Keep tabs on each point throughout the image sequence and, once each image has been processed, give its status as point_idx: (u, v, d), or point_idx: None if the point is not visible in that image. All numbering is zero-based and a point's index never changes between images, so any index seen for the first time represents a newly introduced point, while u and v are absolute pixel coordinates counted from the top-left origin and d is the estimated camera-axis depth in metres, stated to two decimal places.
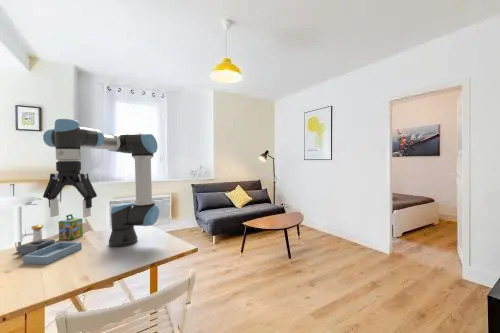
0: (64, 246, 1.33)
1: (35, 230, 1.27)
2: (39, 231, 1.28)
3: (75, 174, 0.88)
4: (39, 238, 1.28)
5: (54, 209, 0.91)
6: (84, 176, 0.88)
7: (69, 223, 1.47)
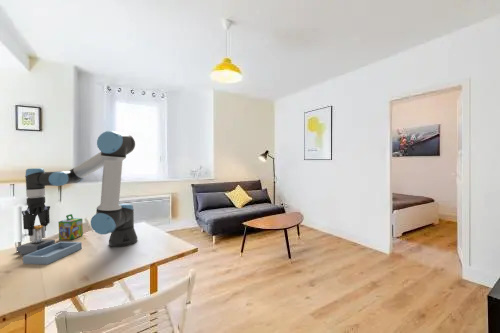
0: (64, 246, 1.33)
1: (35, 230, 1.27)
2: (40, 231, 1.28)
3: None
4: (39, 238, 1.28)
5: None
6: (23, 213, 1.22)
7: (69, 223, 1.47)
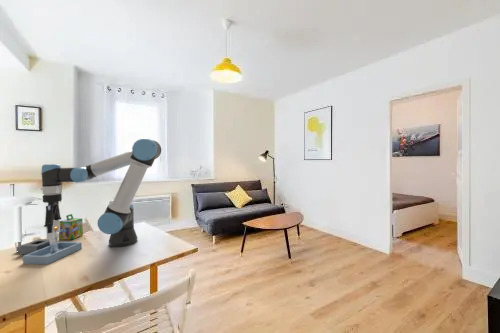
0: (64, 246, 1.33)
1: None
2: (57, 232, 1.24)
3: (48, 205, 1.19)
4: (57, 239, 1.24)
5: None
6: (47, 208, 1.16)
7: (69, 223, 1.47)
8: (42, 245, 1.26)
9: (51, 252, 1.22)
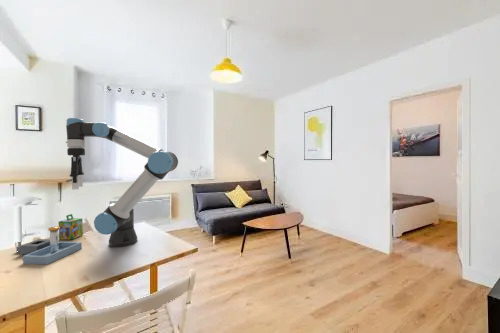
0: (64, 246, 1.33)
1: (54, 231, 1.22)
2: None
3: None
4: (57, 239, 1.24)
5: (78, 181, 1.32)
6: (72, 159, 1.19)
7: (69, 223, 1.47)
8: (42, 245, 1.26)
9: (51, 252, 1.22)
